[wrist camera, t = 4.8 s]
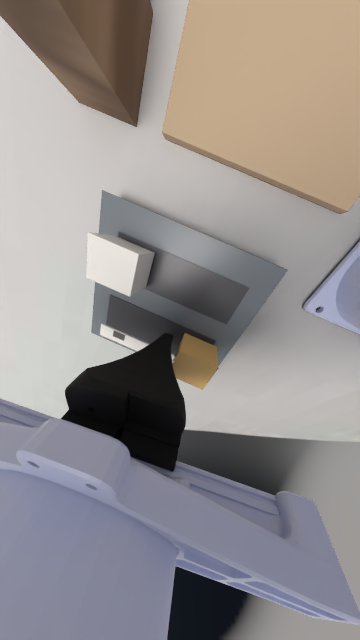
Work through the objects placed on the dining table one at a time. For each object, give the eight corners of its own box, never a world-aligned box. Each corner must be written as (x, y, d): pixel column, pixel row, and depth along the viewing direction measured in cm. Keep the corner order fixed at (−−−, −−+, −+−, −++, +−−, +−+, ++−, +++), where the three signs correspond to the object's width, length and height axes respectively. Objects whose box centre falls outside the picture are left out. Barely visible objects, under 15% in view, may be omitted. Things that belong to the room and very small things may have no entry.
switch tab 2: (217, 347, 12) (218, 368, 10) (204, 366, 14) (202, 389, 11) (184, 332, 12) (179, 351, 10) (174, 353, 14) (167, 374, 11)
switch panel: (275, 266, 11) (289, 270, 9) (206, 368, 17) (206, 384, 15) (119, 199, 11) (100, 189, 9) (104, 323, 17) (90, 333, 15)
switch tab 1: (154, 252, 10) (138, 254, 8) (145, 287, 11) (129, 296, 9) (115, 235, 10) (87, 232, 8) (110, 271, 11) (86, 277, 9)
